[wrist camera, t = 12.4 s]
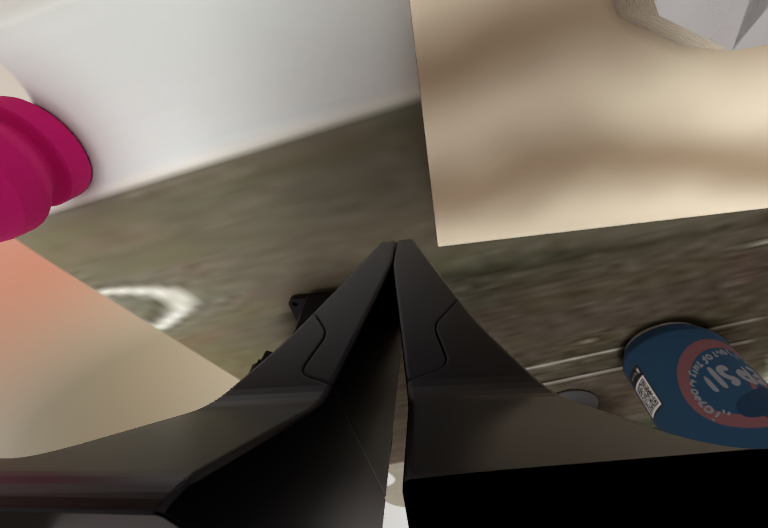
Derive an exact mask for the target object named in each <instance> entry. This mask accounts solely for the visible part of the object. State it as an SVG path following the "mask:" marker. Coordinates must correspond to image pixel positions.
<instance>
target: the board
mask: <svg viewBox="0 0 768 528" xmlns="http://www.w3.org/2000/svg"><path fill="white" fill-rule="evenodd" d="M410 8H411V17H412V25H413V34H414V43H415V51H416V60H417V68H418V77H419V86H420V94H421V103H422V112H423V120H424V129H425V137H426V146H427V155H428V163H429V172H430V180H431V189H432V198H433V206H434V215H435V223H436V232H437V241H438V247H439V246H448V245H456V244H465V243H473V242H482V241H490V240H499V239H507V238H516V237H524V236H533V235H541V234H550V233H558V232H566V231H575V230H583V229H592V228H600V227H609V226H617V225H626V224H634V223H643V222H651V221H660V220H668V219H677V218H685V217H694V216H702V215H711V214H719V213H728V212H736V211H745V210H753V209H762V208H768V44H766V45H761V46H756V47H751V48H745V49H740V50H735V51H727V50H717V49H707V48H697V47H687V46H679V45H677V44H675V43H673V42H671V41H668V40H666V39H664V38H662V37H660V36H658V35H656V34H654V33H652V32H650V31H648V30H646V29H643V28H641V27H639V26H637V25H635V24H633V23H631V22H629V21H627V20H625V19H623V18H621V17H618V16H617V13H616V11H615V8H614V6H613V3H612V0H410Z"/></svg>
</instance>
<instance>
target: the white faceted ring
mask: <svg viewBox="0 0 768 528" xmlns="http://www.w3.org/2000/svg"><path fill="white" fill-rule="evenodd" d="M612 3H613V6H614V8H615V11H616V13H617V16H618V17H621V18H623V19H625V20H627V21H629V22H631V23H633V24H635V25H637V26H639V27H641V28H643V29H646V30H648V31H650V32H652V33H654V34H656V35H658V36H660V37H662V38H664V39H666V40H668V41H671V42H673V43H675V44H677V45H679V46H687V47H697V48H707V49H717V50H727V51H735V50H740V49H745V48H751V47H756V46H761V45H766V44H768V0H612Z"/></svg>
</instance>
